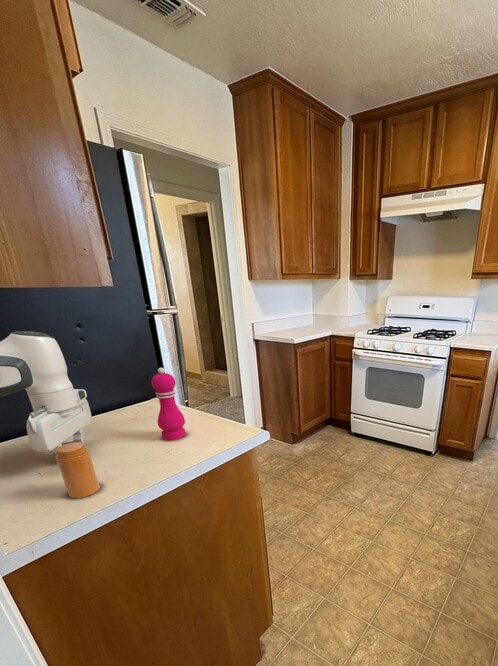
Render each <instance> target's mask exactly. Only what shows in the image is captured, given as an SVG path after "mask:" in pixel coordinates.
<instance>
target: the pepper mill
mask: <svg viewBox="0 0 498 666" xmlns="http://www.w3.org/2000/svg"><path fill="white" fill-rule="evenodd" d="M176 384H177V383H176V379H175V377H174V376H173V375H172V374H170V373H168V372H166V370H165V368H164V367H159V368H158V369H157V374H154V376H153V377H152V379H151V387H152V389H154V390H155V397H156V398H157V399H158V402H159V413H158V416H157V426H158V428H159V429H161V437H162V439H163V440H165V441H176V440H180V439H182V438H184V437H185V436H186V428H185V427H184V426H185V424H186V419H185V416H184V414H183V413H182V411H181V410H180V409H179V407H178V406H177V402H176V397H175V396H177V395H176V394H177V393H176V390H175V387H176Z"/></svg>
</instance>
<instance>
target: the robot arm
mask: <svg viewBox="0 0 498 666" xmlns="http://www.w3.org/2000/svg"><path fill="white" fill-rule="evenodd" d="M24 390H25V391H26V393H27V396H28V399H29V402H30V403H31V404H30V405H31V407H32V410H33V411H31V412H30V413H29V414H28V415H29V416H28V418H27V420H26V432H27V436H28V442H29V444H30V447H31V449H32V450H33V451H34V452H36V453H45V452H52V454H53V453H55V454H56V449H57V448H58V447H60V446H62V443H65V441H67V440H68V439H69V438H71V437H72V436H73V440H72V441H71V442H75V441H77V442H81V443H84V440H83V439H84V430H83V428H85V427H86V426H87V425H89V424H90V423H91V422H92V416H93V415H92V412H91V408H90V404H89V401H88V400H87V397H88V395H87V391H86V389H83V388H82V389H81V388H80V389H78V388H74V386H73V384H72V382H71V380H70V379H69V376H68V366H67V364H66V360H65V357H64V354H63V352H62V350H61V347H60V346H59V344H58V342H57V340H56V339H55V338H54V337H53V336H51V335H49V334H47V333H44V332H39V331H30V330H28V331H27V330H24V331H22V330H19V331H13V332H11V333H10V334H9V335H8V336H7V337H6V338H4V339H2V340H0V397H4V396H8V395H11V394H15V393H18V392H21V391H24ZM56 455H57V454H56ZM56 455H55V456H56Z"/></svg>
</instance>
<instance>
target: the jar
mask: <svg viewBox="0 0 498 666" xmlns="http://www.w3.org/2000/svg"><path fill="white" fill-rule="evenodd" d="M56 454H57V455H55V460H56V463H57V467H58V468H59V472H60V474H61V477H62V479H63V483H64V486H65V488H66V491H67V494H68V496H69V498H71V499H72V498H73V499H83V498H86V497H89V496H91V495H94V494H95V493H97V492H98V491H99V490H100V483H99V480H98V477H97V473H96V471H95V470H96V469H95V467H94V463H93V461H92V457H91V453H90V451H89V449H88V448H87V447H86V445H85V443H84V442H83V443H81V442H75V443H69V444H65V445H62V446H60V447H58V448H57V449H56Z"/></svg>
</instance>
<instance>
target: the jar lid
mask: <svg viewBox="0 0 498 666" xmlns="http://www.w3.org/2000/svg"><path fill="white" fill-rule="evenodd" d="M75 442H77V441H75ZM75 442H72V441H66V442H62V445H65V444H69V443H75ZM52 454H53V456H56V454H55V453H53V452H52Z"/></svg>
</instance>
